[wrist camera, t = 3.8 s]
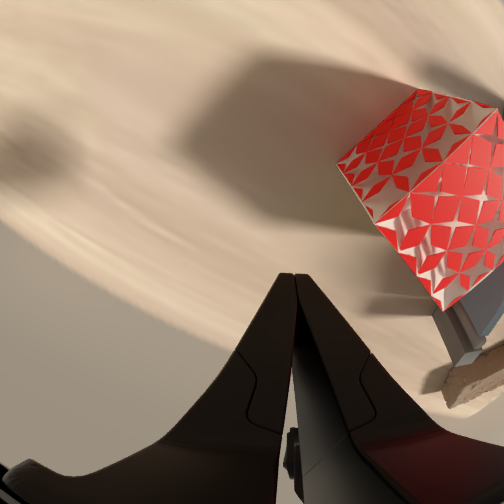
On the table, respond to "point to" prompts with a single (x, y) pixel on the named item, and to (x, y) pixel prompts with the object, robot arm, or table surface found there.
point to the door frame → (455, 336)
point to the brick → (474, 378)
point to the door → (482, 307)
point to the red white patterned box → (436, 189)
